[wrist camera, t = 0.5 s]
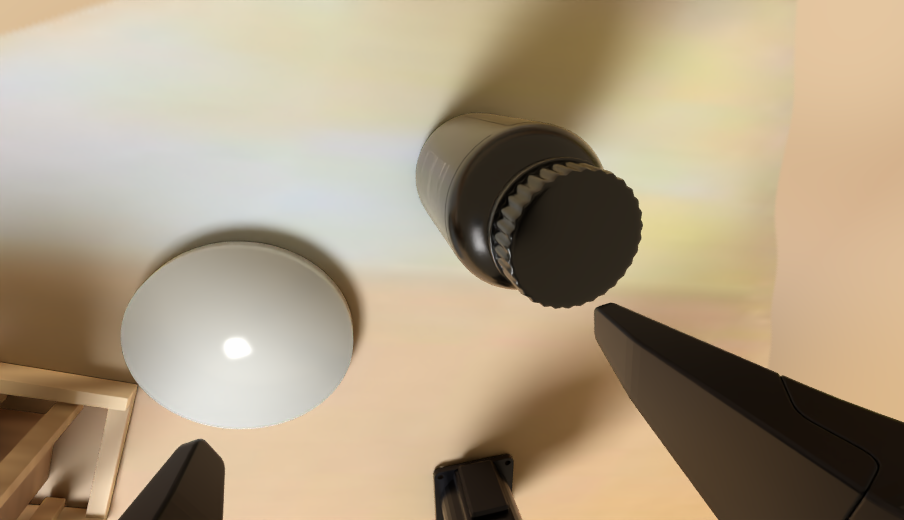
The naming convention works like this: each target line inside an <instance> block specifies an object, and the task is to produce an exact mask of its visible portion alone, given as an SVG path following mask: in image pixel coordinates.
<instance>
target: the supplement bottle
mask: <svg viewBox="0 0 904 520" xmlns="http://www.w3.org/2000/svg"><path fill="white" fill-rule="evenodd" d="M416 186H417V191H418V195H419V198H420V200H421V202H422V204H423V206H424V208H425V210H426V211H427V213H428V215H429V216H430V218H431V219H432V221H433V222H434V224H435V225H436V226H437V228H438V229H439V231H440V232H441V234H442V235H443V237H444V238H445V240H446V241H447V243H448V244H449V246H450V247H451V249H452V250H453V252H454V253H455V254H456V256H457V257H458V259H459V260H460V261H461V262H462V264H463V265H464V266H465V267H466V268H467V269H468V270H469V271H470V272H471V273H472V274H474V275H475V276H476V277H478V278H479V279H481V280H482V281H484V282H487V283H489V284H491V285H494V286H496V287H500V288H505V289H512V290H519V292H520V293H521V294H523V295H525V296H527V297H528V298H529V299H530V300H531V301H532V302H536V303H540V304H541V305H542V306H544V307H548V306H552V307H553V308H555V309H557V308H561V307H564V308H571V307H573V306H581V305H583V304H584V303H586V302H591V301H593V300H595V299H596V298H597V297H598V296H601V295H604V294H605V293H606V292H607V291H608V290H609V289H610V288H612V287H614V286H615V285H616V283H617V281H618V280H619V279H620V278H622V277H623V276H624V274H625V272H626V270H627V268H628V267H629V266H630V265H631V264H632V261H633V257H634V256H635V255H636V253H637V252H638V244H639V242H640V240H641V230H642V227H643V224H642V221H641V216H642V212H641V210H640V209H639V202H638V199H637V198H636V197H634V194H633V190H632V189H631V188H630V187H628V186H626V183H625V181H624V180H623V179H621V178H619V177H616V176H615V175H614V174H613V173H612V172H610V171H607V170H604V169H603V167H602V164H601V162H600V160H599V158H598V157H597V155H596V154H595V152H594V151H593V150H592V148H591V147H590V146H589V145H588V144H587V143H586V142H585V141H584V140H583V139H582V138H580V137H579V136H578V135H576V134H575V133H573V132H571V131H569V130H567V129H565V128H562V127H559V126H556V125H552V124H549V123H543V122H537V121H532V120H526V119H519V118H513V117H507V116H501V115H495V114H489V113H468V114H463V115H459V116H457V117H454V118H452V119H450V120H448V121H446V122H445V123H443V124H442V125H441V126H439V127H438V128H437V129H436V130H435V131H434V132H433V133H432V134H431V135H430V137H429V138H428V139H427V141H426V142H425V144H424V146H423V148H422V150H421V152H420V155H419V158H418V161H417V166H416Z"/></svg>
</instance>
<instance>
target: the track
mask: <svg viewBox="0 0 904 520" xmlns="http://www.w3.org/2000/svg"><path fill="white" fill-rule="evenodd" d="M137 387H138V385H137V384H131V383H125V382H119V381H113V380H106V379H100V378H94V377H88V376H82V375H76V374H70V373H63V372H57V371H51V370H45V369H39V368H33V367H26V366H20V365H14V364H8V363H2V362H0V393H1V394H8V395H15V396H22V397H29V398H37V399H44V400H51V401H58V402H65V403H72V404H79V405H86V406H93V407H100V408H107V409H108V412H107V417H106V422H105V427H104V431H103V436H102V441H101V445H100V450H99V455H98V460H97V464H96V469H95V474H94V479H93V483H92V488H91V493H90V498H89V502H88V507H87V509H86V508H71V507H64V508H63V510H62V511H61V513H60V514H59V516H58V517H57V519H56V520H107V516H108V512H109V507H110V503H111V499H112V494H113V490H114V486H115V482H116V477H117V473H118V469H119V464H120V460H121V456H122V451H123V447H124V443H125V438H126V434H127V430H128V425H129V421H130V417H131V413H132V408H133V404H134V400H135V395H136V391H137ZM39 506H40V505H27V507H26V508H25V509H24V510H23V512H22V513H21V514H20V516H19V517H18V518H17V520H29V519H30V518H31V517H32V515H33V514H34V513H35V511H36V510H37V508H38V507H39Z"/></svg>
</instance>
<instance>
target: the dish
mask: <svg viewBox="0 0 904 520" xmlns="http://www.w3.org/2000/svg"><path fill="white" fill-rule="evenodd" d="M121 346H122V353H123V356H124V359H125V362H126V365H127V367H128V369H129V371H130V373H131V375H132V376H133V378H134V379H135V380H136V382H137V383H138V385H139V386H140V387H141V388H142V389H143V390H144V391H145V392H146V393H147V394H148V395H149V396H150V397H151V398H152V399H154V400H155V401H156V402H157V403H158V404H160V405H161V406H163V407H165V408H166V409H168V410H169V411H171V412H173V413H175V414H177V415H179V416H181V417H183V418H186V419H188V420H191V421H194V422H197V423H200V424H204V425H208V426H213V427H220V428H229V429H254V428H262V427H268V426H272V425H277V424H281V423H284V422H287V421H290V420H292V419H295V418H297V417H299V416H301V415H304V414H305V413H307V412H309V411H310V410H312V409H314V408H315V407H317V406H318V405H319V404H321V403H322V402H323V401H324V400H326V399H327V398H328V397H329V396H330V395H331V394H332V393H333V392H334V390H335V389H336V388H337V387H338V385H339V384H340V382H341V381H342V379H343V378H344V376H345V374H346V372H347V369H348V367H349V365H350V361H351V357H352V351H353V322H352V317H351V313H350V309H349V307H348V304H347V302H346V300H345V298H344V296H343V294H342V292H341V291H340V289H339V288H338V287H337V285H336V284H335V283H334V281H333V280H332V279H331V278H330V277H329V276H328V275H327V274H326V273H325V272H324V271H322V270H321V269H320V268H319V267H317V266H316V265H315V264H313V263H312V262H310V261H308V260H307V259H305V258H303V257H302V256H300V255H298V254H295V253H293V252H291V251H289V250H286V249H283V248H279V247H276V246H273V245H268V244H263V243H258V242H246V241H230V242H220V243H213V244H208V245H204V246H201V247H197V248H194V249H192V250H189V251H187V252H184V253H182V254H180V255H178V256H176V257H175V258H173V259H171V260H170V261H168V262H167V263H165V264H164V265H163V266H162V267H160V268H159V269H158V270H157V271H156V272H154V273H153V274H152V275H151V276H150V277H149V278H148V279H147V280H146V281H145V282H144V283H143V284H142V285H141V287H140V288H139V289H138V290H137V291H136V293H135V294H134V296H133V297H132V299H131V300H130V302H129V304H128V306H127V308H126V311H125V313H124V317H123V321H122V325H121Z"/></svg>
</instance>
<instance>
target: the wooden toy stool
mask: <svg viewBox="0 0 904 520" xmlns="http://www.w3.org/2000/svg"><path fill="white" fill-rule="evenodd" d="M6 398H7V394H1V393H0V404H1V403H2V402H3V401H4V400H5V399H6ZM82 409H83V405H79V404H72V403H65V402H58V401H57V402H56V403H55V404H54V405H53V406H52V408H51V409H50V410H49V411H48V412H47V413H46V414H45V415H44V416H43V417H42V418H41V419H40V420H39V422H38V423H37V424H36V425H35V426H34V427H33V428H32V429H31V430H30V431H29V432H28V433H27V434H26V436H25V437H24V438H23V439H22V440H21V441H20V442H19V443H18V444H17V445H16V446H15V447H14V448H13V449H12V451H11V452H10V453H9V454H8V455H7V456H6V457H5V458H4V459H3V460H2V461H1V462H0V508H1V507H2V506H3V504H4V503H5V502H6V501H7V500H8V498H9V497H10V496H11V495H12V494H13V492H14V491H15V490H16V489H17V487H18V486H19V485H20V484H21V483H22V481H23V480H24V479H25V478H26V477H27V475H28V474H29V473H30V472H31V471H32V469H33V468H34V467H35V466H36V465H37V463H38V462H39V461H40V460H41V459H42V457H43V456H44V455H45V454H46V453H47V451H48V450H49V449H50V448H51V446H52V445H53V444H54V443H55V442H56V440H57V439H58V438H59V437H60V436H61V434H62V433H63V432H64V431H65V430H66V428H67V427H68V426H69V425H70V424H71V422H72V421H73V420H74V419H75V418H76V416H77V415H78V414H79V413H80V412H81V410H82ZM65 500H66V499H65V498H52V497H46V498H45V499H44V500H43V502H42V503H41V504H40V506H39V507H38V508H37V510H36V511H35V513H34V514H33V515H32V517H31V518H30V519H29V520H56V519H57V517H58V516H59V514H60V513H61V511H62V510H63V508H64V505H65Z"/></svg>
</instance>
